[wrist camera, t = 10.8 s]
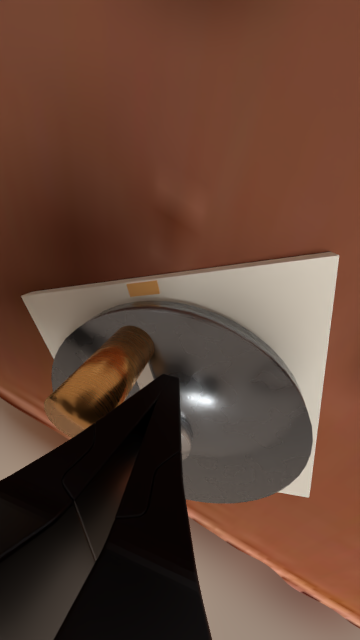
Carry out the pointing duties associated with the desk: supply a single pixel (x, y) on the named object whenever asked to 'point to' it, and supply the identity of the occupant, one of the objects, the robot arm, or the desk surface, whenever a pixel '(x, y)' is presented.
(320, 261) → the wheel base
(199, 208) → the desk surface
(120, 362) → the handwheel
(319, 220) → the desk surface
